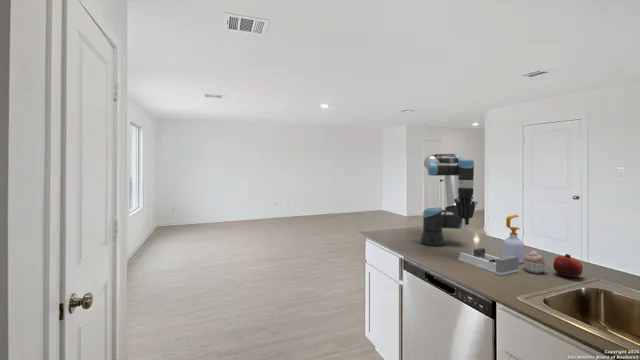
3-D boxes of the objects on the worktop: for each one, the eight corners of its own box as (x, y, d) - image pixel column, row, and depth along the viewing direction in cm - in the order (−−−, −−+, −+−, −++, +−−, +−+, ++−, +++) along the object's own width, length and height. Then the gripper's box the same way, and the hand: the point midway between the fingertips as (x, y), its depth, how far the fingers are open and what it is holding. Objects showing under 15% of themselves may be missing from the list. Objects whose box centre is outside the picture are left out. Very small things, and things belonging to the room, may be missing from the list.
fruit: (547, 272, 138) (547, 251, 137) (568, 272, 137) (569, 251, 137) (565, 280, 127) (566, 258, 126) (588, 280, 127) (589, 258, 126)
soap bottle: (526, 264, 148) (528, 216, 147) (507, 263, 150) (508, 216, 149) (518, 258, 157) (519, 213, 156) (500, 257, 159) (501, 213, 158)
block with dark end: (469, 261, 150) (469, 249, 149) (481, 259, 153) (481, 247, 153) (492, 269, 138) (493, 257, 137) (505, 266, 141) (505, 254, 141)
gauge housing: (458, 259, 156) (458, 247, 156) (474, 257, 161) (474, 244, 160) (501, 275, 134) (501, 260, 134) (518, 271, 139) (518, 256, 138)
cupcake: (551, 274, 135) (552, 253, 134) (534, 275, 133) (534, 254, 133) (533, 267, 144) (534, 247, 143) (517, 268, 142) (517, 248, 142)
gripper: (450, 186, 162) (450, 228, 164) (471, 188, 150) (470, 233, 152) (460, 186, 165) (459, 226, 167) (481, 188, 153) (480, 232, 155)
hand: (464, 230), depth 159 cm, fingers closed
